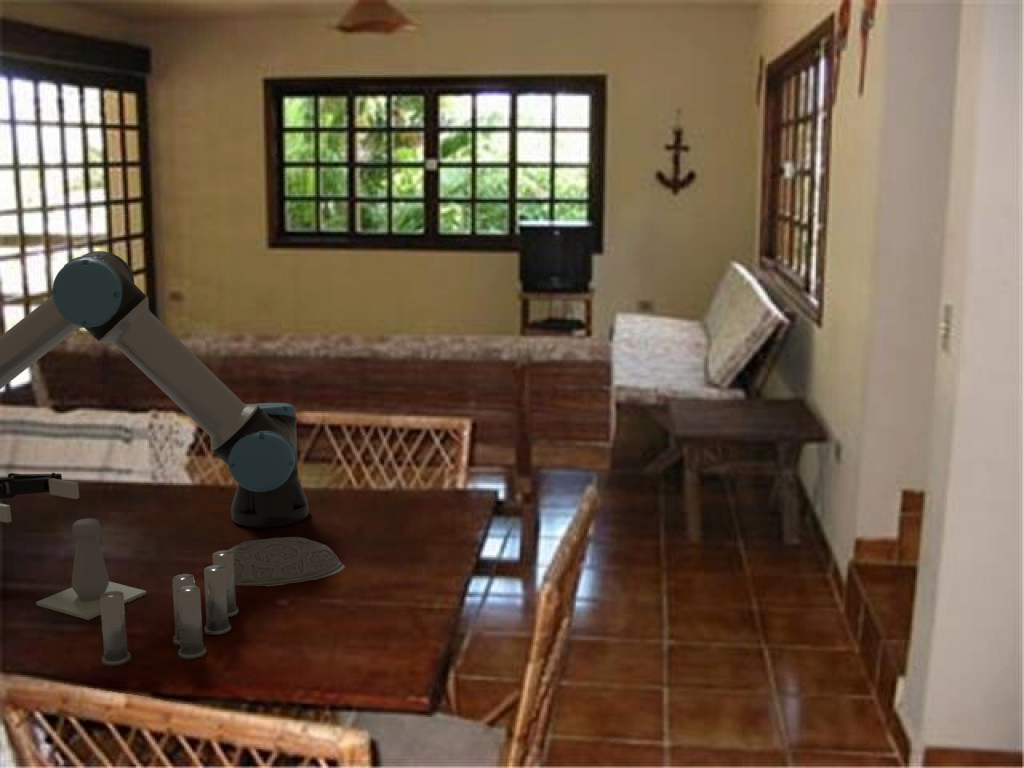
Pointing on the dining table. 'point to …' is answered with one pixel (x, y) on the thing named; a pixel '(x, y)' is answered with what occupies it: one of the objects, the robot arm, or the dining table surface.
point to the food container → (282, 561)
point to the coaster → (85, 609)
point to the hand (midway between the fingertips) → (44, 502)
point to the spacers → (178, 612)
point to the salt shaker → (88, 561)
